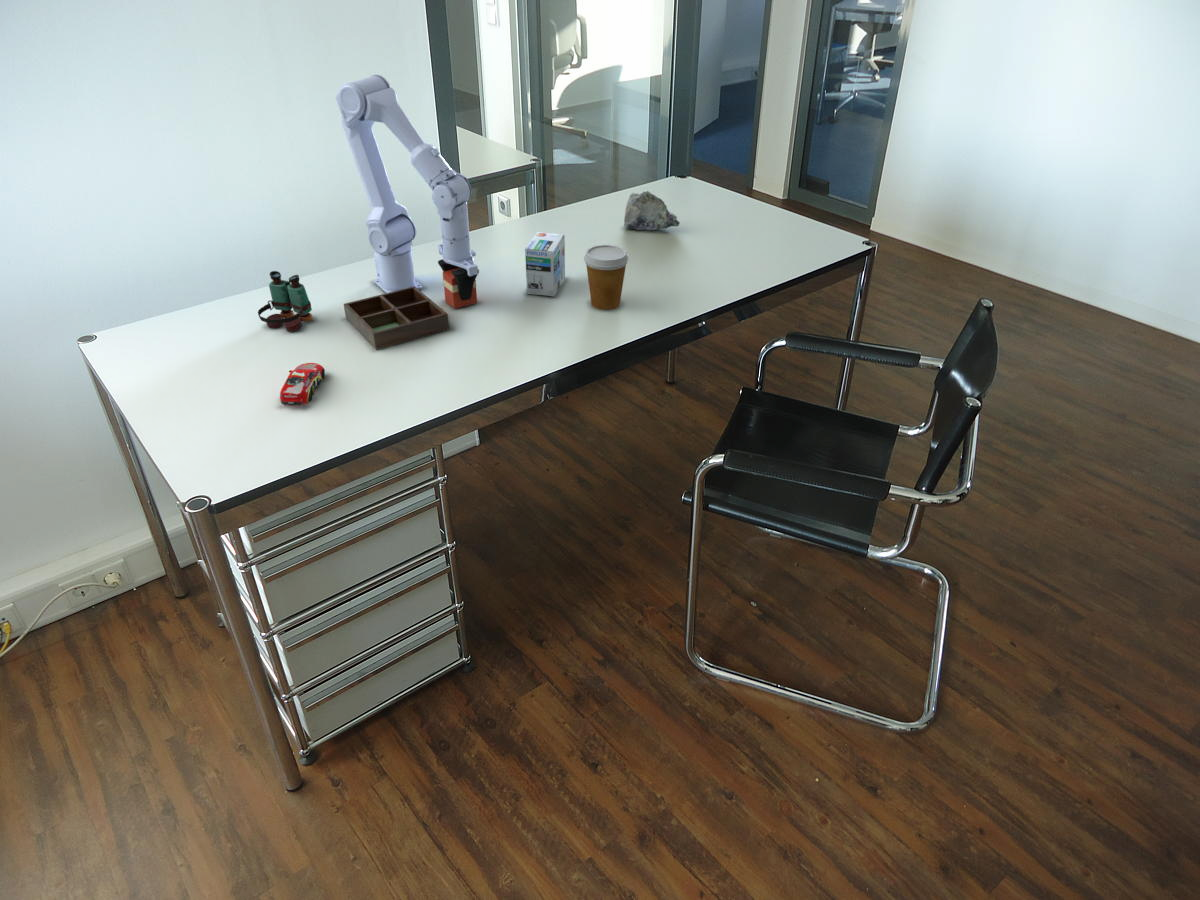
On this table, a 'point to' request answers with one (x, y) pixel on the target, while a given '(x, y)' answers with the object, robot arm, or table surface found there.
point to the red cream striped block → (456, 291)
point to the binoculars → (287, 303)
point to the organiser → (396, 317)
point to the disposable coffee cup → (605, 275)
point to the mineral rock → (648, 213)
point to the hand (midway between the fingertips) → (460, 295)
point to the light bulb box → (545, 264)
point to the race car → (302, 384)
